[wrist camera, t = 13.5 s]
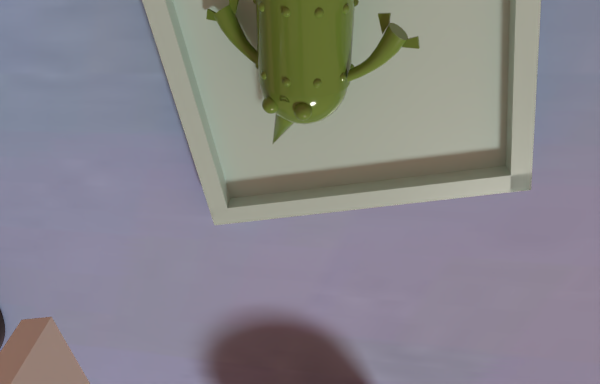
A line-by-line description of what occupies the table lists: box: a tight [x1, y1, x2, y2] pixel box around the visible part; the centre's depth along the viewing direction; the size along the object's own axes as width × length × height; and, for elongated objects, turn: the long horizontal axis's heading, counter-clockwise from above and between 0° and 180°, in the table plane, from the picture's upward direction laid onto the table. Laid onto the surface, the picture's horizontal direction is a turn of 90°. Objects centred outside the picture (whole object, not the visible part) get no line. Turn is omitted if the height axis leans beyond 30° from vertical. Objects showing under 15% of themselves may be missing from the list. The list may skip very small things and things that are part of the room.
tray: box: [142, 0, 541, 225], centre depth 30 cm, size 20×20×2 cm
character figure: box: [206, 0, 420, 145], centre depth 27 cm, size 12×5×12 cm
